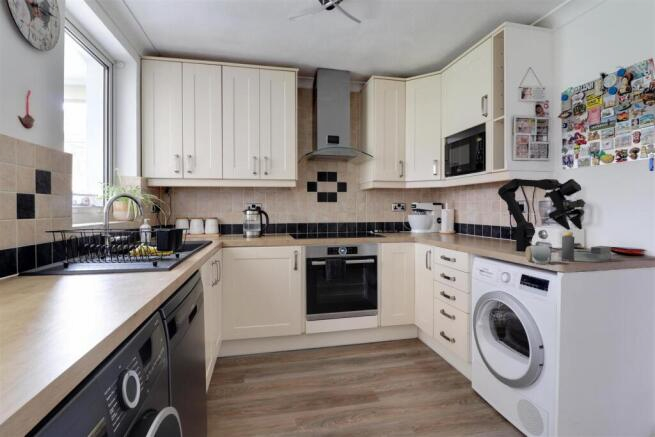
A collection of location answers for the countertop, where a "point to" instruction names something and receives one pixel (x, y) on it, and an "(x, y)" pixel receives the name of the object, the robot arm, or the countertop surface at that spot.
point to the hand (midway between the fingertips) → (575, 229)
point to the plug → (568, 247)
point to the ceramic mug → (538, 254)
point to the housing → (592, 253)
